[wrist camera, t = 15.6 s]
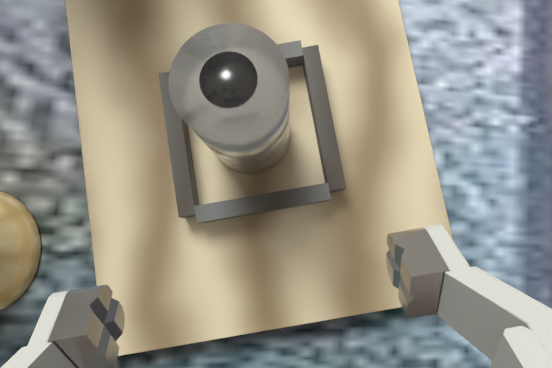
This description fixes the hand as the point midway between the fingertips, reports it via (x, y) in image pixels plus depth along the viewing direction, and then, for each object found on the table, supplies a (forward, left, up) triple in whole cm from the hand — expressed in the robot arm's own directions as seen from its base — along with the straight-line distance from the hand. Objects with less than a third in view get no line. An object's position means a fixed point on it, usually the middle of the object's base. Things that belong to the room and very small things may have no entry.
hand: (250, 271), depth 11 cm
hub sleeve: (0, +7, -13) cm, 15 cm away
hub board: (0, +7, -14) cm, 16 cm away
